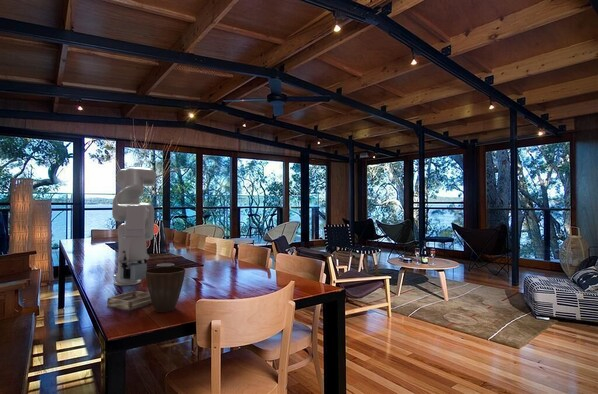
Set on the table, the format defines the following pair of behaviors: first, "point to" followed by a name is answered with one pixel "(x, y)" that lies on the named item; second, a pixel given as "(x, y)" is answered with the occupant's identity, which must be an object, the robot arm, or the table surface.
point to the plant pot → (165, 286)
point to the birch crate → (129, 301)
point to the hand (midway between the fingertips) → (133, 276)
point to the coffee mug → (164, 265)
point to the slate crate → (136, 271)
